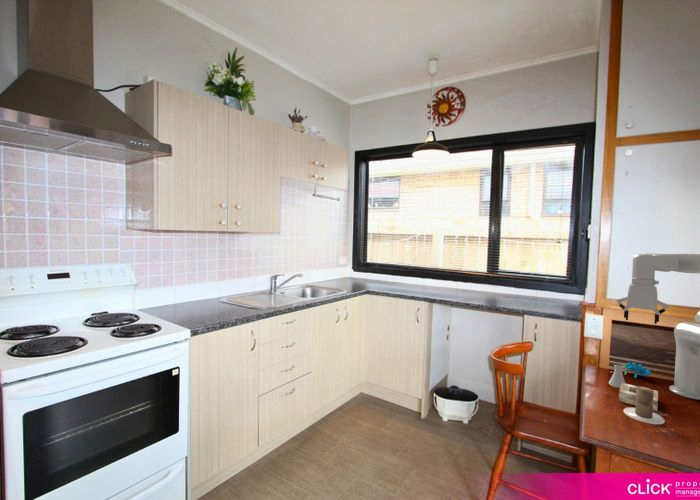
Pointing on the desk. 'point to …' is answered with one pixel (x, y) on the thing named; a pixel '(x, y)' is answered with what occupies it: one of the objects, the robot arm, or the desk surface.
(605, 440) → the desk surface
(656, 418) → the white round dome
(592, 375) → the desk surface
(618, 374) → the flask
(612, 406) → the desk surface
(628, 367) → the blue toy figure
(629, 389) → the birch holder
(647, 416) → the walnut peg
